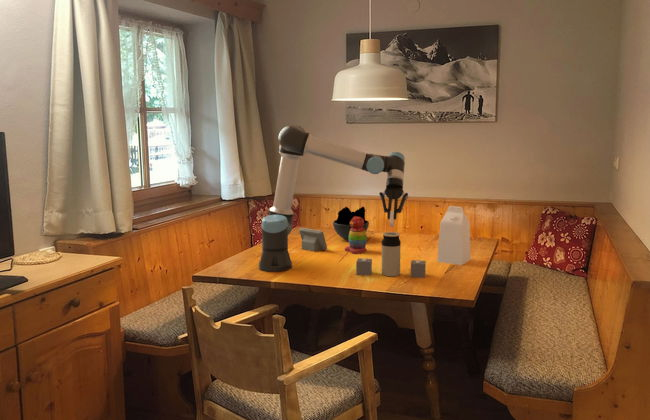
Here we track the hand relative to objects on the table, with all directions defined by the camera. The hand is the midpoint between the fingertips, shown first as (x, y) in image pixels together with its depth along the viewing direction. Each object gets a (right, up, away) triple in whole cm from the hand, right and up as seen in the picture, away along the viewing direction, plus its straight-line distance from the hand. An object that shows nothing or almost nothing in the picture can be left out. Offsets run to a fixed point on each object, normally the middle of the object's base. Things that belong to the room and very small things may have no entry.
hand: (391, 224), depth 251 cm
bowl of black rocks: (-14, -10, +76) cm, 78 cm away
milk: (+33, -18, +27) cm, 46 cm away
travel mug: (0, -22, +4) cm, 22 cm away
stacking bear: (-12, -15, +49) cm, 52 cm away
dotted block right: (+12, -22, +2) cm, 25 cm away
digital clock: (-34, -14, +54) cm, 66 cm away
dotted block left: (-11, -21, +6) cm, 25 cm away
